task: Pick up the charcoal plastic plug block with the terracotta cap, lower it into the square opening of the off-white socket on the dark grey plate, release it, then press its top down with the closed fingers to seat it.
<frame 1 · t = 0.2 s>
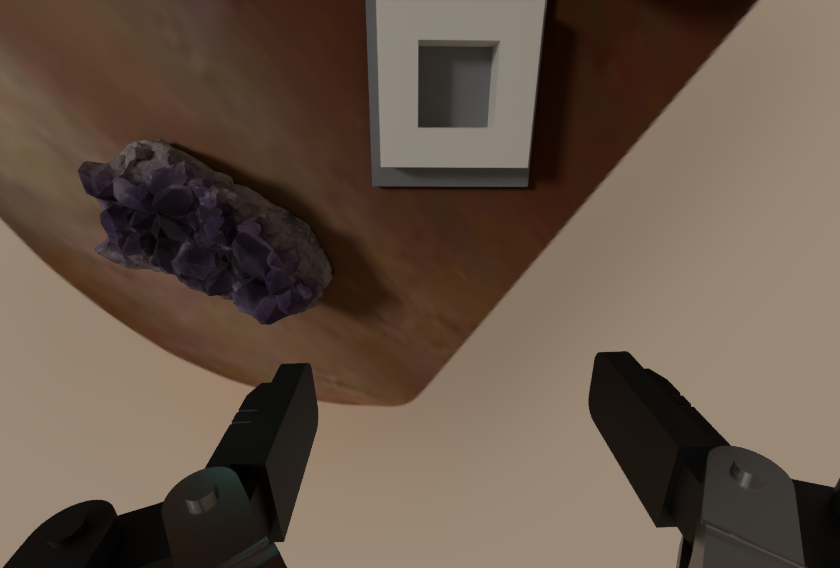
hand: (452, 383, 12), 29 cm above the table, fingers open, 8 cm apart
geode: (239, 226, 39), on the table
socket: (452, 88, 35), on the table
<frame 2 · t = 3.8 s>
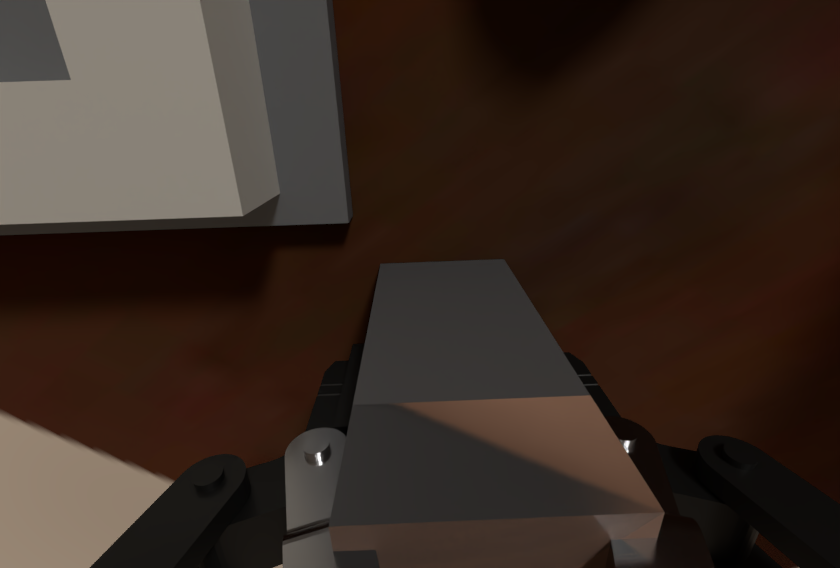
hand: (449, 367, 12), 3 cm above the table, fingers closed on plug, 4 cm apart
plug: (442, 316, 15), on the table, touching gripper
when the fingers open (6 cm above the table, at t = 9.0 s): plug drops 1 cm, resting on socket.
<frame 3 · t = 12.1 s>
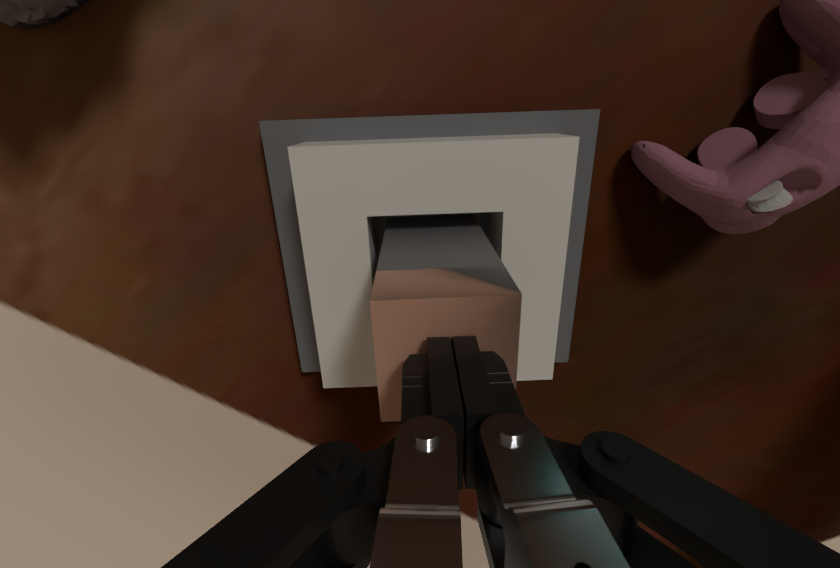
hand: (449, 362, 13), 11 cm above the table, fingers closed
video game controller: (726, 117, 21), on the table
plug: (431, 257, 22), point 1 cm above the table, touching gripper, socket
socket: (432, 250, 23), on the table
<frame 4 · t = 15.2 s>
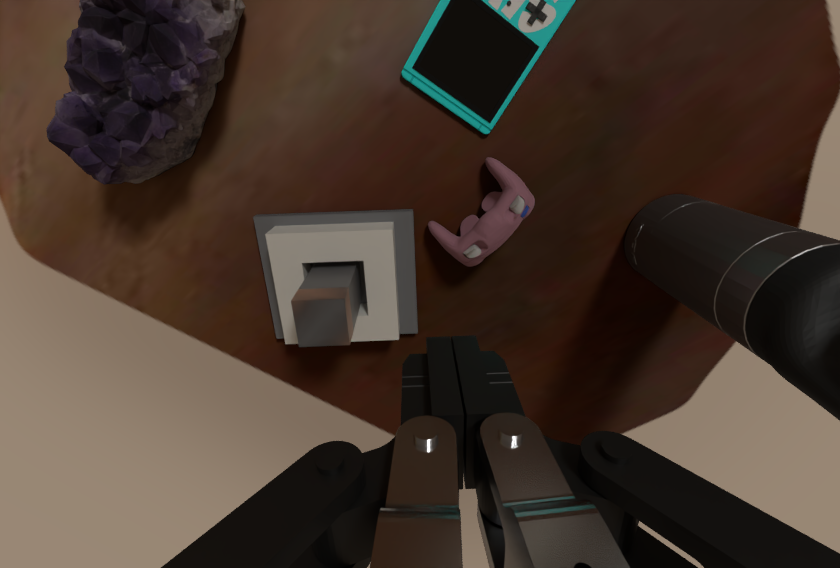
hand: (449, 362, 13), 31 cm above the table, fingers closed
geode: (173, 77, 37), on the table
video game controller: (476, 208, 42), on the table
plug: (339, 279, 44), point 1 cm above the table, touching socket
handheld game console: (493, 26, 37), on the table
socket: (342, 275, 45), on the table
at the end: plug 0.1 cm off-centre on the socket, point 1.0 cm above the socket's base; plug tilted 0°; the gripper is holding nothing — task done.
